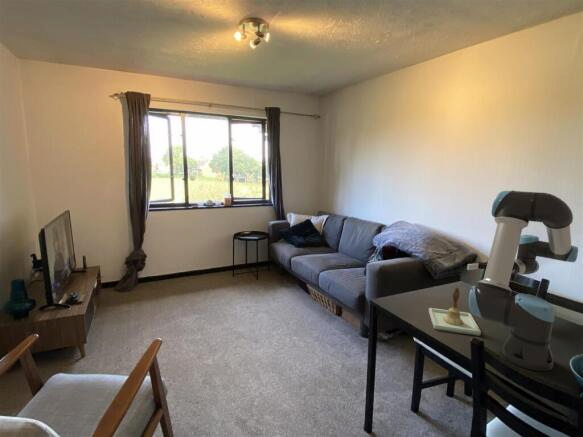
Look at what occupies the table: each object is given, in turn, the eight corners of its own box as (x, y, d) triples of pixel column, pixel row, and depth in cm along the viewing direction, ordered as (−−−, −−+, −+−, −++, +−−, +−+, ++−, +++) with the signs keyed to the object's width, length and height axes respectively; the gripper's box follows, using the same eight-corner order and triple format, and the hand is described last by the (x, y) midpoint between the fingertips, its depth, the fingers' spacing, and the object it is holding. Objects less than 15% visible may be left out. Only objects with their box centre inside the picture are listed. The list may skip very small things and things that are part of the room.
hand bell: (444, 315, 150) (448, 283, 148) (464, 320, 146) (468, 287, 143) (441, 321, 144) (444, 288, 141) (461, 327, 139) (465, 293, 136)
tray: (480, 335, 134) (480, 331, 134) (434, 329, 139) (434, 324, 138) (469, 316, 151) (470, 313, 151) (428, 311, 156) (429, 307, 156)
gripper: (538, 284, 143) (507, 288, 135) (486, 268, 166) (456, 271, 158) (541, 267, 142) (509, 271, 134) (488, 254, 165) (458, 256, 157)
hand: (481, 271), depth 146 cm, fingers open, 13 cm apart
